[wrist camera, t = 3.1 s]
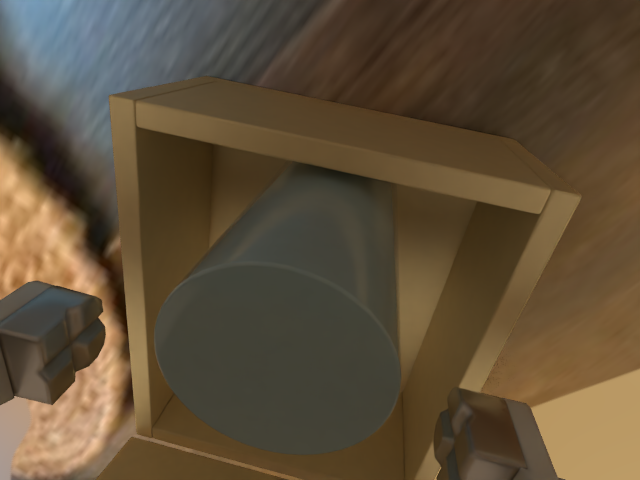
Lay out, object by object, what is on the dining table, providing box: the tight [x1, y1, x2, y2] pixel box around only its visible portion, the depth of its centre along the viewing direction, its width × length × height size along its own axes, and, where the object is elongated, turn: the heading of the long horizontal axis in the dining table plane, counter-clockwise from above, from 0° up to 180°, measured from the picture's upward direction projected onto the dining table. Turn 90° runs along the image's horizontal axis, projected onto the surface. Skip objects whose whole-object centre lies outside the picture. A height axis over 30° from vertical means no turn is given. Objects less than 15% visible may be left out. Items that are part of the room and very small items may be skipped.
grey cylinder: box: [154, 160, 402, 455], centre depth 14 cm, size 7×5×11 cm
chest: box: [109, 76, 581, 480], centre depth 18 cm, size 16×14×7 cm
